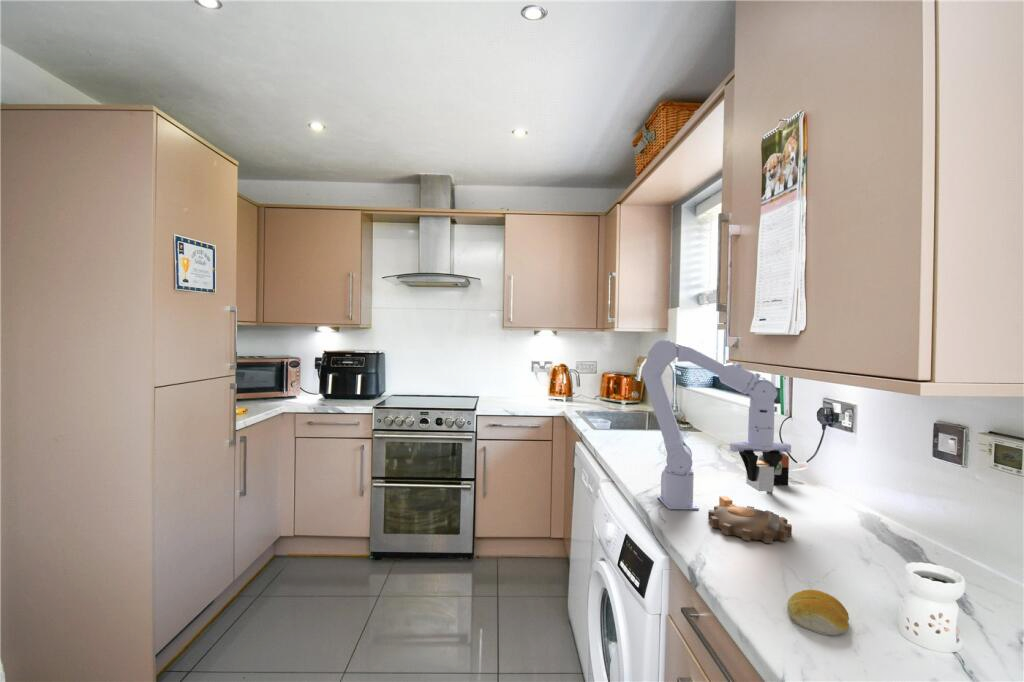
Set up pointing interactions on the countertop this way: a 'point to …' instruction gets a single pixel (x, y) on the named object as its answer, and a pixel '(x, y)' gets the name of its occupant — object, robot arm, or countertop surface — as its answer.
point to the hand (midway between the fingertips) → (759, 480)
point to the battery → (783, 471)
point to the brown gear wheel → (750, 523)
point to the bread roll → (818, 612)
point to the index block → (724, 501)
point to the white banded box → (762, 477)
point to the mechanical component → (777, 470)
